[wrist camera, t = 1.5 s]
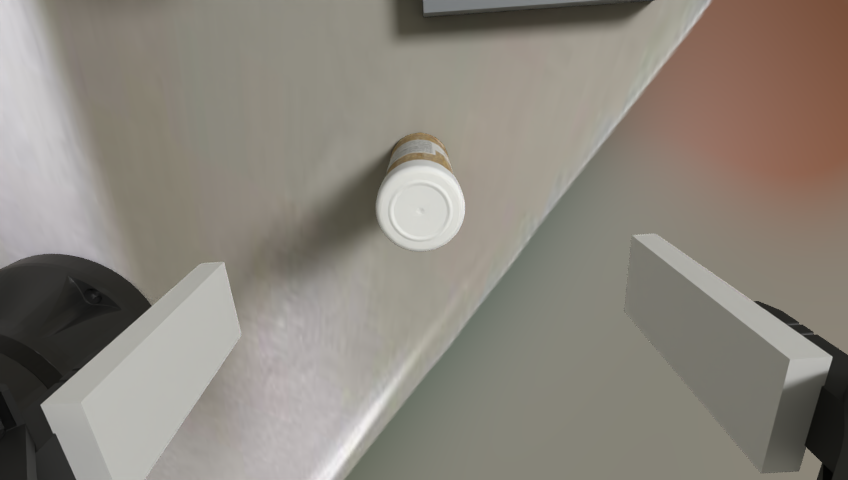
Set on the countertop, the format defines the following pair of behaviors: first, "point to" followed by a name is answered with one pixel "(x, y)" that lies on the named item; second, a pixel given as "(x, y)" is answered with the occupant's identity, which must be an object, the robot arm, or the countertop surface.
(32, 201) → the countertop surface
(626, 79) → the countertop surface
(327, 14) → the countertop surface
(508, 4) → the tray
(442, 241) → the sprinkles bottle
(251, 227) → the countertop surface
